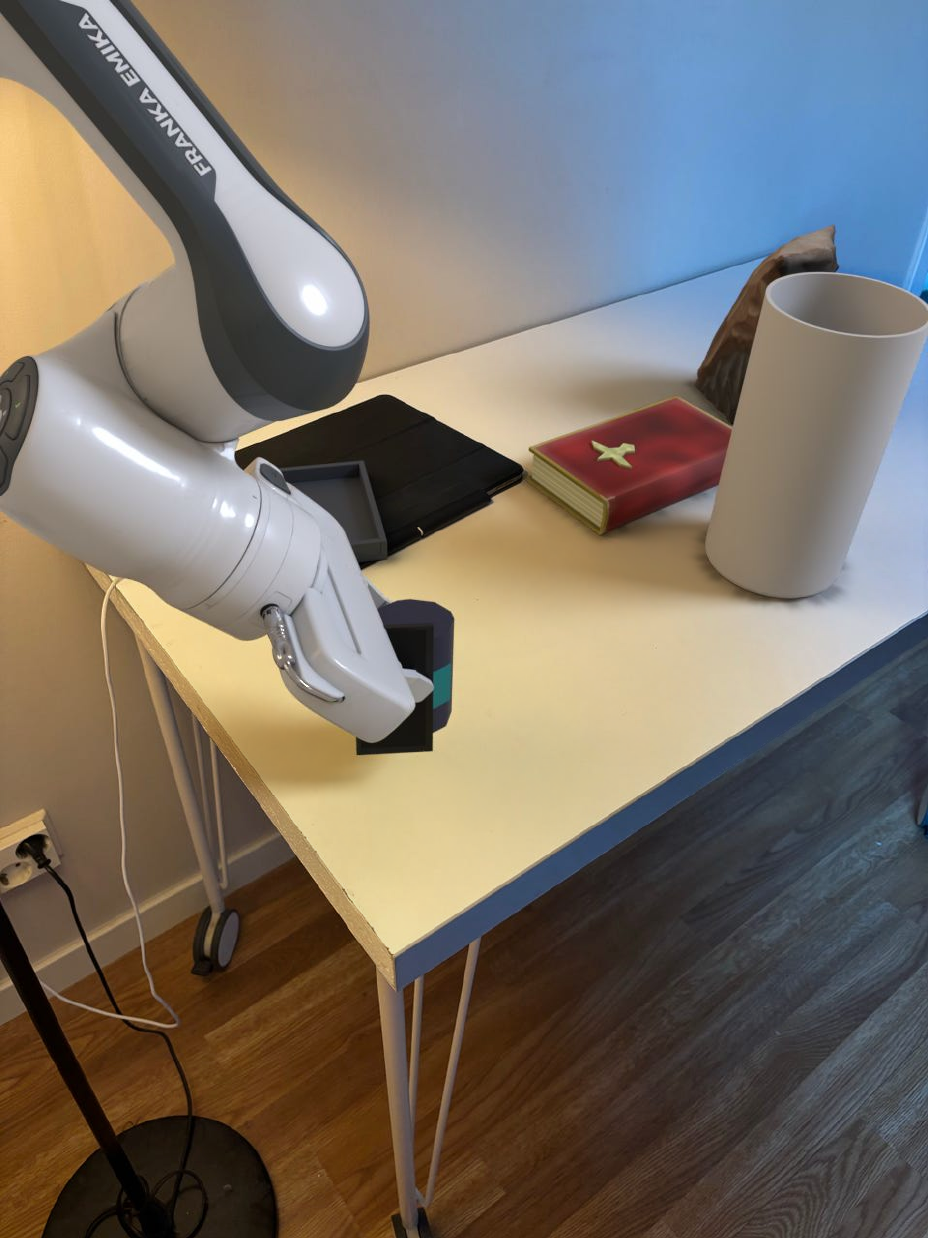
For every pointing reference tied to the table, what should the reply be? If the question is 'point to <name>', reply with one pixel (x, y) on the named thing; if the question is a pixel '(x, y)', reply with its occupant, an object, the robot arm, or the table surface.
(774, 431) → the cylinder vase
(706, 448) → the hardcover book
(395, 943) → the table surface
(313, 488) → the shallow rimmed tray
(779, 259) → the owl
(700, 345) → the table surface
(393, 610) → the speaker
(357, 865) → the table surface
